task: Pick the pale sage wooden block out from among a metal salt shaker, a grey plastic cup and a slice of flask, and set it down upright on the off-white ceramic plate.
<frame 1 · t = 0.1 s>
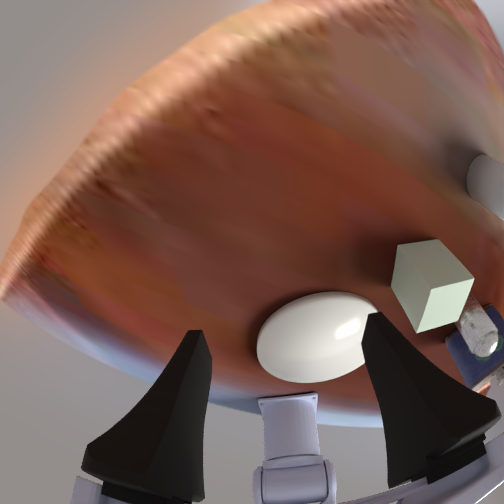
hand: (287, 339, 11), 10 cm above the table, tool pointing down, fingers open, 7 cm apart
sage block: (414, 263, 21), on the table
salt shaker: (455, 297, 24), on the table
plate: (320, 340, 26), on the table
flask: (469, 322, 27), on the table
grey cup: (481, 177, 17), on the table
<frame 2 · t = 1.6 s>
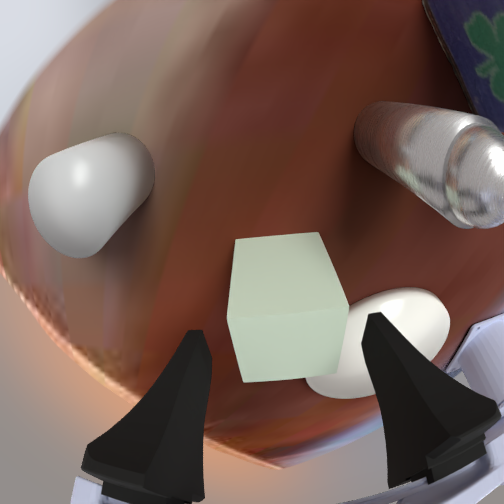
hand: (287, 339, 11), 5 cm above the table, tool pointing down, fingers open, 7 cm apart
sage block: (279, 269, 16), on the table
salt shaker: (385, 135, 12), on the table
plate: (378, 348, 20), on the table
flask: (460, 58, 9), on the table
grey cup: (117, 172, 13), on the table
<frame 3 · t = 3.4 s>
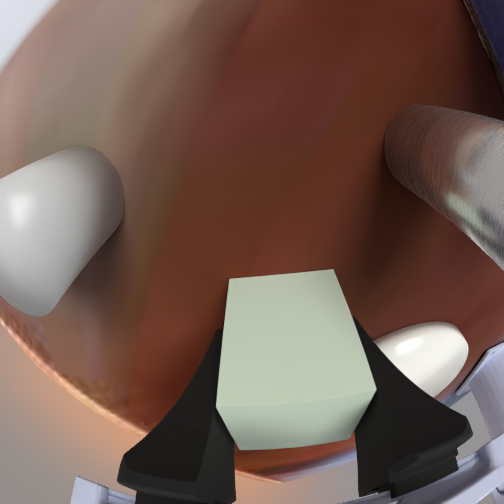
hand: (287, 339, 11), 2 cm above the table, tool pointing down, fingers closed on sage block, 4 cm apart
sage block: (283, 312, 13), on the table, touching gripper
salt shaker: (421, 148, 8), on the table
plate: (390, 381, 17), on the table
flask: (500, 57, 6), on the table
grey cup: (81, 195, 10), on the table
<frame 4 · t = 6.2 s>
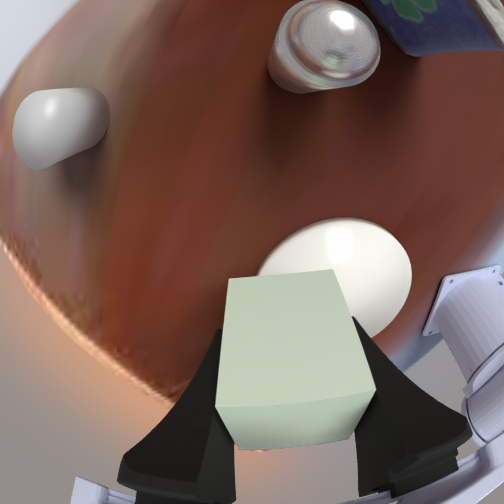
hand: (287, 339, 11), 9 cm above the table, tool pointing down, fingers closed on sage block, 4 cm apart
sage block: (283, 312, 13), point 7 cm above the table, touching gripper
salt shaker: (298, 65, 13), on the table
plate: (333, 292, 21), on the table
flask: (377, 0, 10), on the table
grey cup: (83, 118, 14), on the table
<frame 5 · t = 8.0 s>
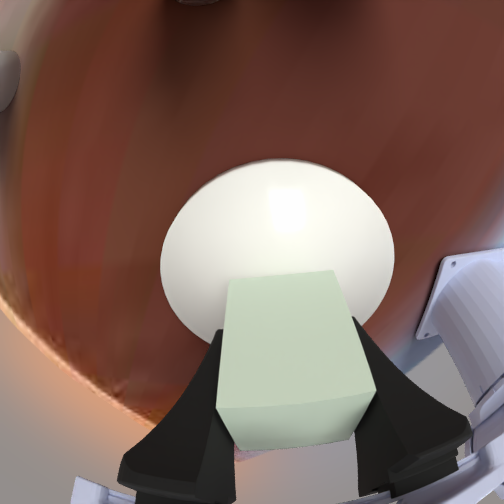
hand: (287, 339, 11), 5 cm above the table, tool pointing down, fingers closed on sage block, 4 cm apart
sage block: (283, 312, 13), point 3 cm above the table, touching gripper
plate: (279, 273, 15), on the table
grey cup: (1, 81, 8), on the table
when the fingers open (4 cm above the table, at t = 9.3 s): sage block drops 1 cm, resting on plate.
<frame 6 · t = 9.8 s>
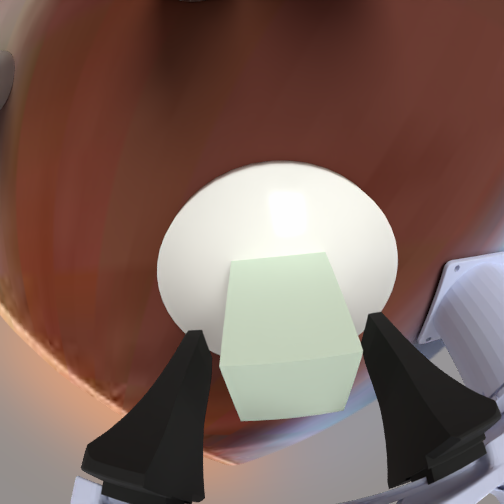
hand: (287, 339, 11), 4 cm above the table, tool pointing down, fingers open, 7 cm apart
sage block: (281, 293, 14), point 1 cm above the table, touching plate
plate: (279, 278, 15), on the table
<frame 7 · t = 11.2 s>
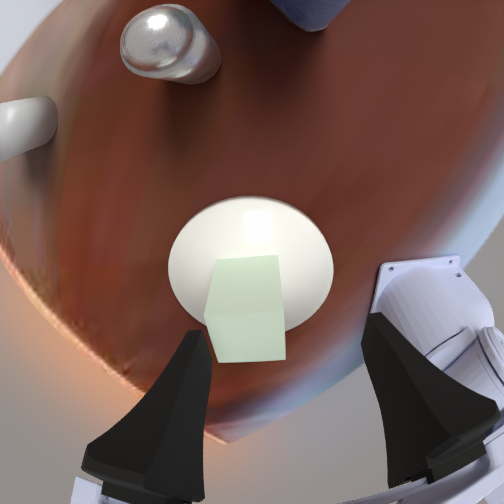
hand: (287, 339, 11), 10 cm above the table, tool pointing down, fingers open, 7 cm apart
sage block: (250, 281, 21), point 1 cm above the table, touching plate
salt shaker: (194, 59, 14), on the table
plate: (250, 272, 22), on the table
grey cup: (40, 120, 15), on the table
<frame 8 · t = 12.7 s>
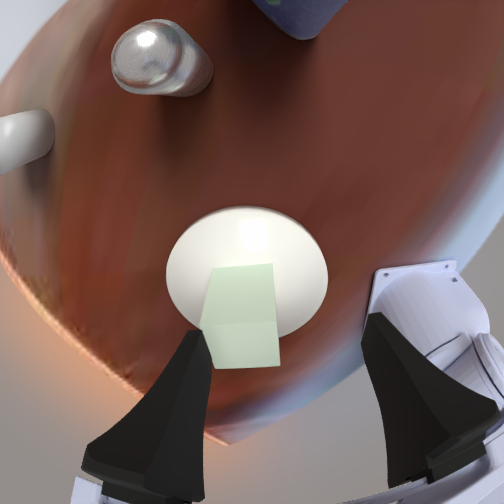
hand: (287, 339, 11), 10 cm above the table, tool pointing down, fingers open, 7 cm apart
sage block: (246, 289, 21), point 1 cm above the table, touching plate
salt shaker: (186, 71, 14), on the table
plate: (246, 279, 23), on the table
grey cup: (38, 133, 16), on the table
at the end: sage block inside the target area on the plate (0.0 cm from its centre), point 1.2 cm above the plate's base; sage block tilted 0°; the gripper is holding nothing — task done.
